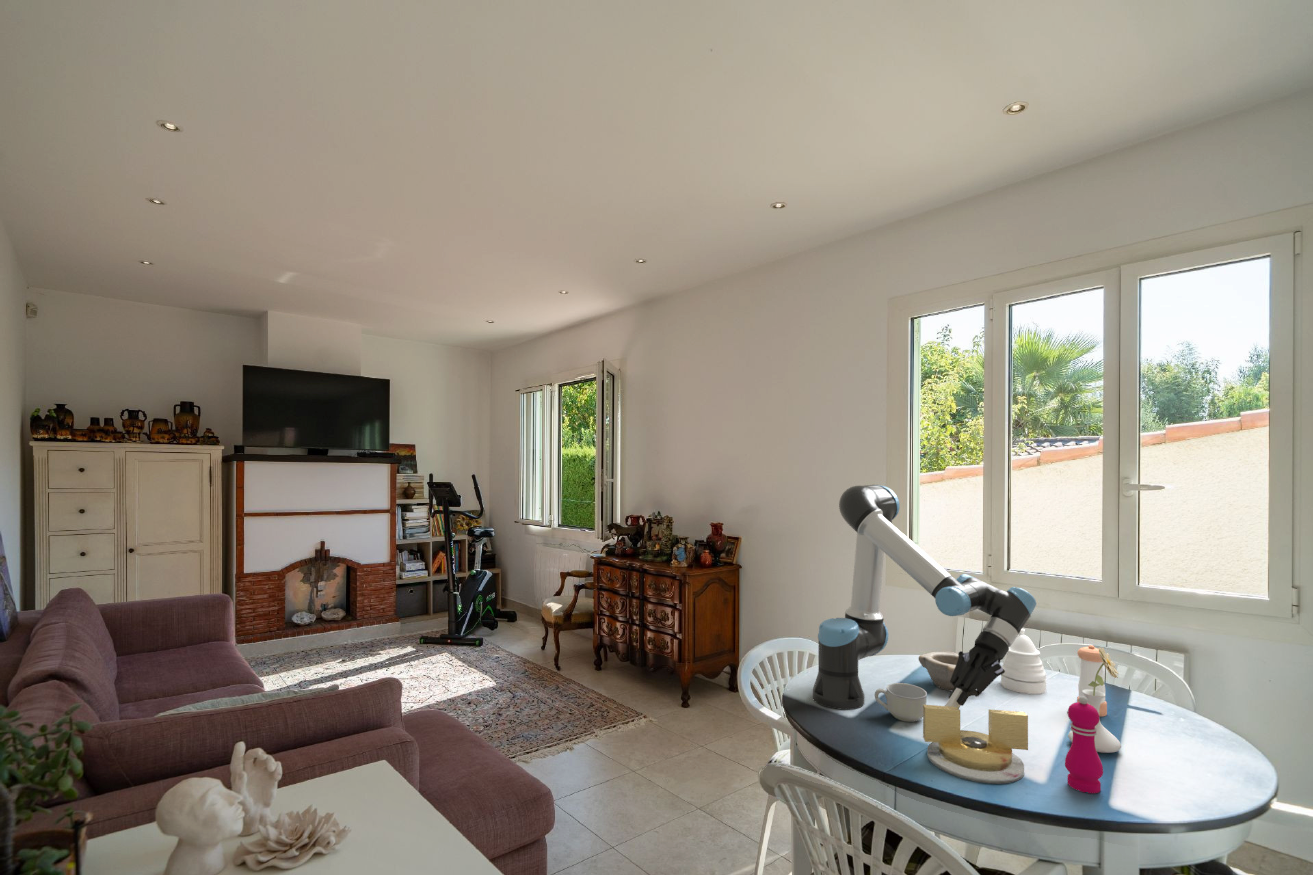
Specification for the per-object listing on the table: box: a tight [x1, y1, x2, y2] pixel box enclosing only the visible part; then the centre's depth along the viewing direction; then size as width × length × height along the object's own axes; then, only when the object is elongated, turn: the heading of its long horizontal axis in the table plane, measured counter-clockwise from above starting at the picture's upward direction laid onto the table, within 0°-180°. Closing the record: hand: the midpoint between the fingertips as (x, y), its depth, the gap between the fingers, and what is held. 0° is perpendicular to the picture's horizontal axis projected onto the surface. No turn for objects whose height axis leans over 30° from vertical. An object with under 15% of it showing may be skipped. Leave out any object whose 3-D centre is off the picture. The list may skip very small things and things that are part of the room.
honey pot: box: [1000, 628, 1047, 695], centre depth 217 cm, size 13×13×18 cm
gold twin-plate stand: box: [922, 704, 1029, 770], centre depth 162 cm, size 18×17×10 cm
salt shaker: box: [1076, 644, 1108, 717], centre depth 196 cm, size 7×7×19 cm
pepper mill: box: [1064, 696, 1104, 794], centre depth 150 cm, size 7×7×20 cm
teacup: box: [874, 682, 928, 723], centre depth 190 cm, size 14×11×8 cm
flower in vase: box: [1067, 647, 1122, 754], centre depth 172 cm, size 13×11×25 cm
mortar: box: [918, 651, 959, 692], centre depth 216 cm, size 17×17×9 cm
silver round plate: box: [927, 742, 1025, 785], centre depth 162 cm, size 21×21×2 cm
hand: (948, 712), depth 169 cm, fingers closed
